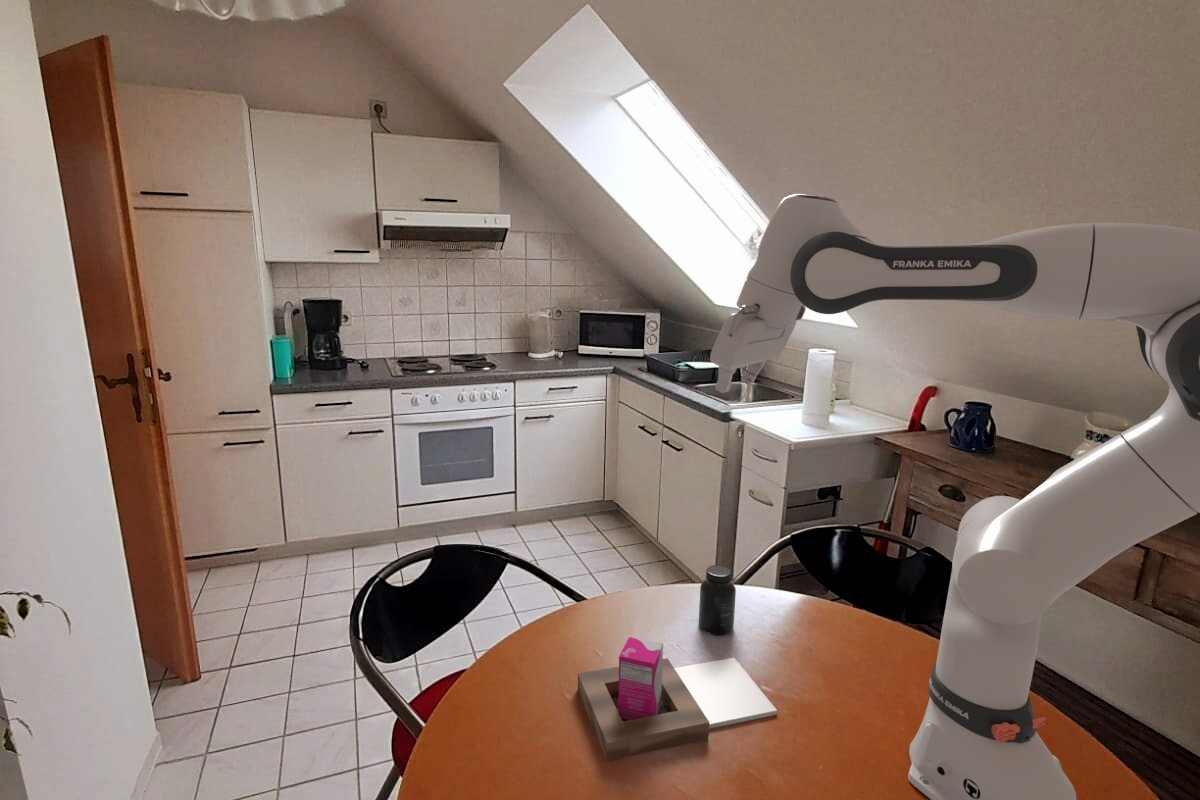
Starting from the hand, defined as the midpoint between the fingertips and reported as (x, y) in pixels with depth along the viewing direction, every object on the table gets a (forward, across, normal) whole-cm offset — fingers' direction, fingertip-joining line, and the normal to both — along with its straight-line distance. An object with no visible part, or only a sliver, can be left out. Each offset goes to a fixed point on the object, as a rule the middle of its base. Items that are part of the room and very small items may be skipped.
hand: (734, 386), depth 99 cm
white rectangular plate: (+47, -3, -19) cm, 51 cm away
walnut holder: (+50, -15, -11) cm, 54 cm away
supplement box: (+50, -15, -11) cm, 54 cm away
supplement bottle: (+50, +14, -10) cm, 53 cm away
